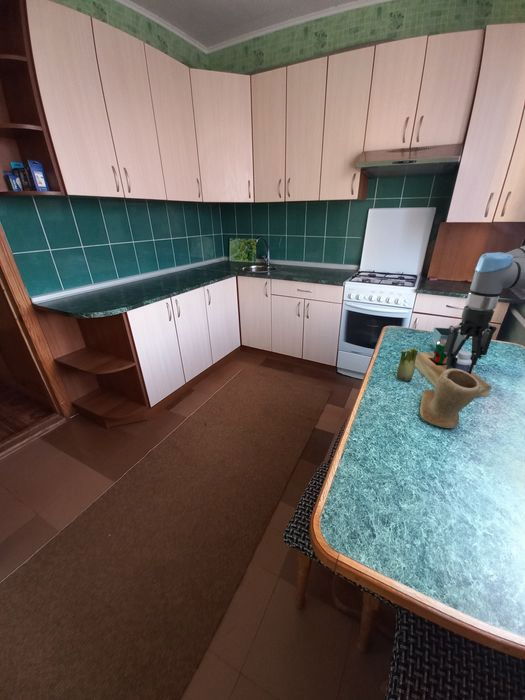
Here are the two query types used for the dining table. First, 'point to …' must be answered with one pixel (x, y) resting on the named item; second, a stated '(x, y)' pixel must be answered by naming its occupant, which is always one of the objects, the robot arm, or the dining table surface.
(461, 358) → the pill bottle
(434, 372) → the socket block
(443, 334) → the flower pot
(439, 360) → the soda can
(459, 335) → the robot arm
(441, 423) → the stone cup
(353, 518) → the dining table surface
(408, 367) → the fennel bulb
